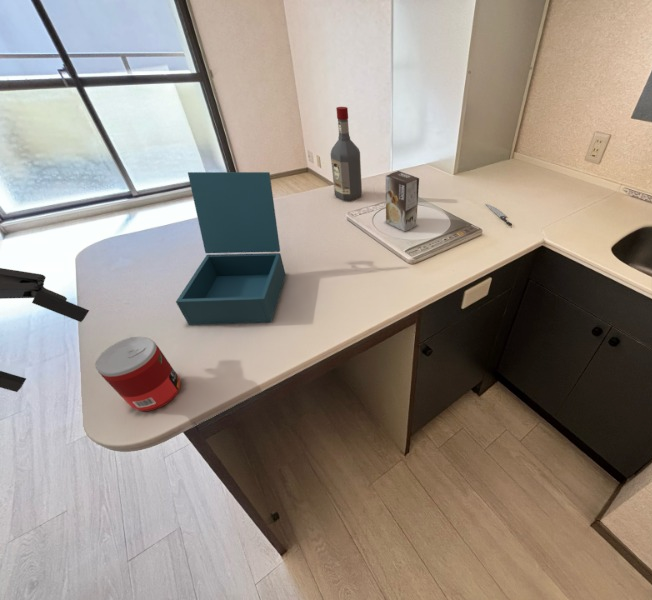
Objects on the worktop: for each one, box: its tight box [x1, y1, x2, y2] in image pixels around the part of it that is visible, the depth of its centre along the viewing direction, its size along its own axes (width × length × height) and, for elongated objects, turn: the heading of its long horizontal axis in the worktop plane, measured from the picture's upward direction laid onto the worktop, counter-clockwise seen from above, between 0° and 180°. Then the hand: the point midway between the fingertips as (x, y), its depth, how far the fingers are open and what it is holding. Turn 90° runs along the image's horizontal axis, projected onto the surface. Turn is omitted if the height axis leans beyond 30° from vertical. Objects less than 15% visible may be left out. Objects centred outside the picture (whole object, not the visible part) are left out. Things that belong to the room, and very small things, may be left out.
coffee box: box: [385, 170, 420, 232], centre depth 105 cm, size 9×6×16 cm
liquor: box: [330, 106, 363, 202], centre depth 116 cm, size 9×9×30 cm
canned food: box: [94, 335, 181, 412], centre depth 55 cm, size 8×8×11 cm
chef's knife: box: [485, 203, 513, 227], centre depth 117 cm, size 19×1×3 cm
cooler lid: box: [187, 171, 281, 254], centre depth 79 cm, size 19×18×5 cm
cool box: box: [175, 252, 287, 326], centre depth 77 cm, size 18×18×7 cm
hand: (57, 347), depth 49 cm, fingers open, 13 cm apart
